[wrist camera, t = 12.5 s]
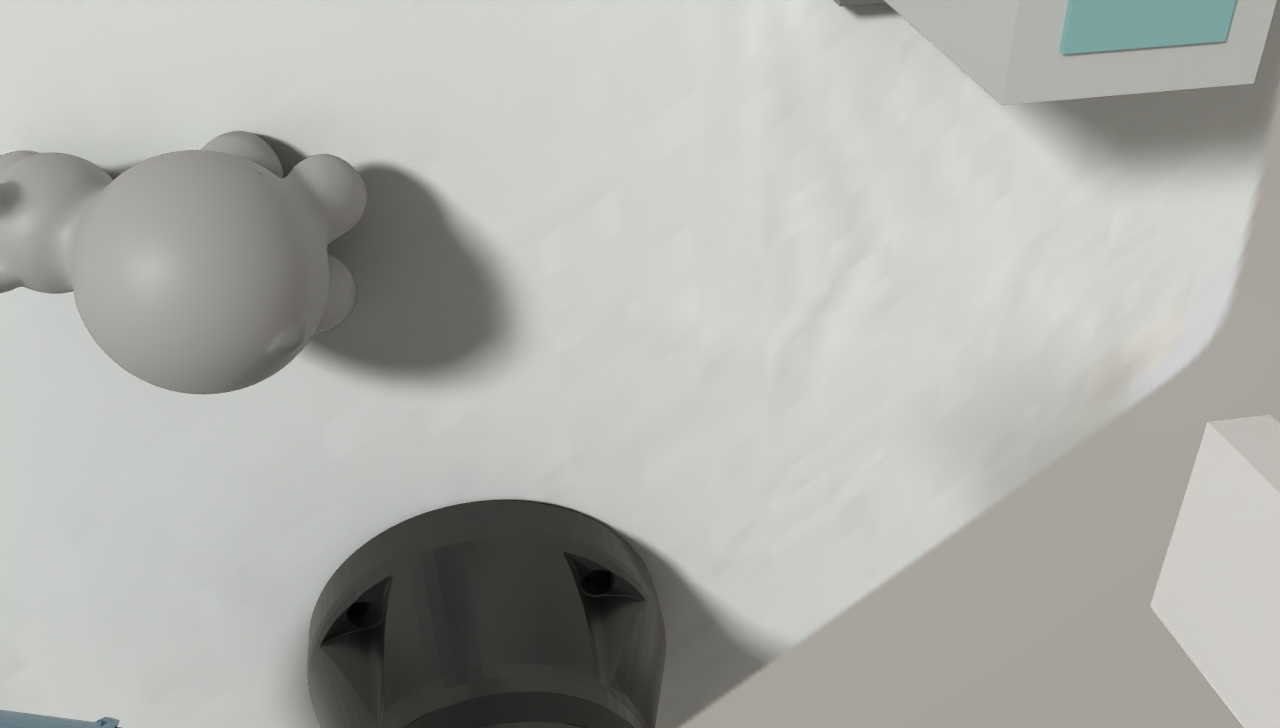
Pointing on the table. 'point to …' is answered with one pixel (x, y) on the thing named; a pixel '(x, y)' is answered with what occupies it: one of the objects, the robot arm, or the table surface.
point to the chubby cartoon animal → (187, 255)
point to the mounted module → (1095, 44)
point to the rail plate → (857, 2)
